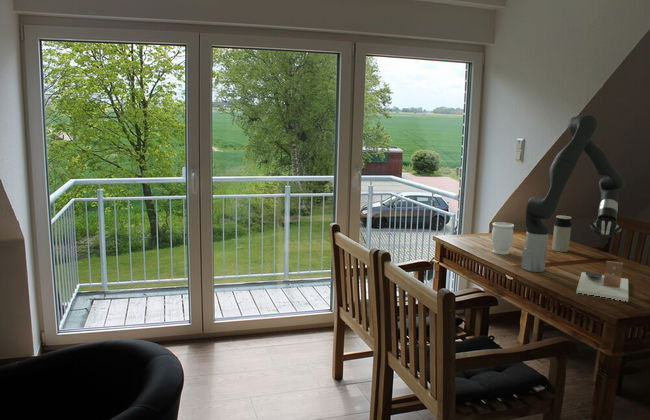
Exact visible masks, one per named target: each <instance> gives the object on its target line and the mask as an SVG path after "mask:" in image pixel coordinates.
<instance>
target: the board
mask: <svg viewBox="0 0 650 420" xmlns="http://www.w3.org/2000/svg"><path fill="white" fill-rule="evenodd" d="M604 275H605V274H602V277H593V276H590V275H586V271H585V272H584V271H582V272H581V274H580V277H579V281H578V284H577V286H576V292H575V293H576V294H578V293H582V294H581V295H584V294H587V295H586V296H589V295H594V296H593V297H595V296H600V297H599V298H601V297H606V298H605V299H607V298H611V299H610V300H613V299H615V301H619V300H621V301H620V302H625V301H626V303H629V279H628V278H623V277H621V283H620V288H619V287H612V286H606V285H603V283H604Z"/></svg>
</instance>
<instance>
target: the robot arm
mask: <svg viewBox="0 0 650 420" xmlns="http://www.w3.org/2000/svg"><path fill="white" fill-rule="evenodd" d="M597 126H598V121H597V118H596V117H595V116H594V115H593V114H582V115H577V116H573V117H571V118H570V119H569V120H568V123H567V130H568V133H569V134H570V135H571V137H572V138H571V140H570V141H569V142H568V144H566V145H565V146H564V147H563V148H562V149H561V150H560V151H559V152H558V153H557V154H556V156H555V157H554V159H553V162H552V163H551V165H550V167H549V173H548V174H549V175H548V176H549V183H550V185H549V189H548V192H547V194H546V195H545V197H542V196H532V197H530V198H529V199H528V201H527V203H526V208H525V209H526V210H525V211H526V212H525V228H526V232H525V233H526V234H525V243H524V247H523V248H522V256H521V257H522V258H521V267H520V268H521V269H523V270H525V271H528V272H531V273H532V272H533V273H541V272H545V268H546V260H547V259H546V257H547V251H548V250H547V249H548V240H549V230H550V229H549V227H548V226H547V225H546V224H545V223H544V222H543V220H549V219H550V218H552V217H553V215H554V214H555V212H556V210H557V208H558V205H559V202H560V199H561V197H562V195H563V192H564V189H565V187H566V185H567V183H568V181H569V179H570V177H571V175H572V174H573V172H574V170H575V168H576V165H577V163H578V161H579V159H580V157H581V156H582V154H583V152H584V153H585V155H586V156H587V158H588V160H589V161H590V163H591V165H592V168H593V169H594V171H595V172H596V174H597V175H598V176H605V177H602V178H600V180H599V182H598V188H599V191H600V201H599V202H600V203H599V205H598V212H597V213H598V214H597V219H596V220H595V222H591V223H590V224H589V226H590V227H589V228H590V229H591V230H592V231H593V232H594V234H595V235H596V236H597V237H598V236H600V244H601V245H606V244H608V242H609V241H608V240H609V238H611V239H612V238H614V237H615V236H616V235H618V234H619V233H621V232H622V229H623V226H622V225H618V222H617V219H618V208H619V194H618V192H617V191H618V190H619V191H620V190H622V189H624V187H625V185H626V184H625V183H626V181H625V179H624V177H623V176H622V175H621V174H620V172H619V171H618V170H616V168H614V166H613V165H612V163H611V161H610V160H609V157H608V156H607V154H606V152H604V150H603V149H601V148H600V146H598V145H597V144H596V143H595V142H594V141H593V140H592V137H593V135H594V134H595V132H596V129H597V128H598V127H597Z"/></svg>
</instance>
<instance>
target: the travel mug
mask: <svg viewBox="0 0 650 420" xmlns="http://www.w3.org/2000/svg"><path fill="white" fill-rule="evenodd" d="M555 218H556V219H555V221H554V226H553V227H554V228H553V235H552V243H551V246H552V247H551V249H552V250H553V251H555V252H557V253H558V252H559V253H567V252H569V250H570V241H571V232H572V231H571V230H572V222H571V220H572V216H569V215H568V216H567V215H556V216H555Z"/></svg>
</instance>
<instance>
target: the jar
mask: <svg viewBox="0 0 650 420" xmlns="http://www.w3.org/2000/svg"><path fill="white" fill-rule="evenodd" d="M514 227H515V225H514V224H513V223H510V222H504V221H502V222H501V221H498V222H497V221H495V222H492V229H491V230H492V231H491V246H492V248H493V249H492V253H494V254H495V255H496V254H497V255H503V256H504V255H509V254H510V249H511V247H512V243H513V240H514V239H513V238H514Z"/></svg>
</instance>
